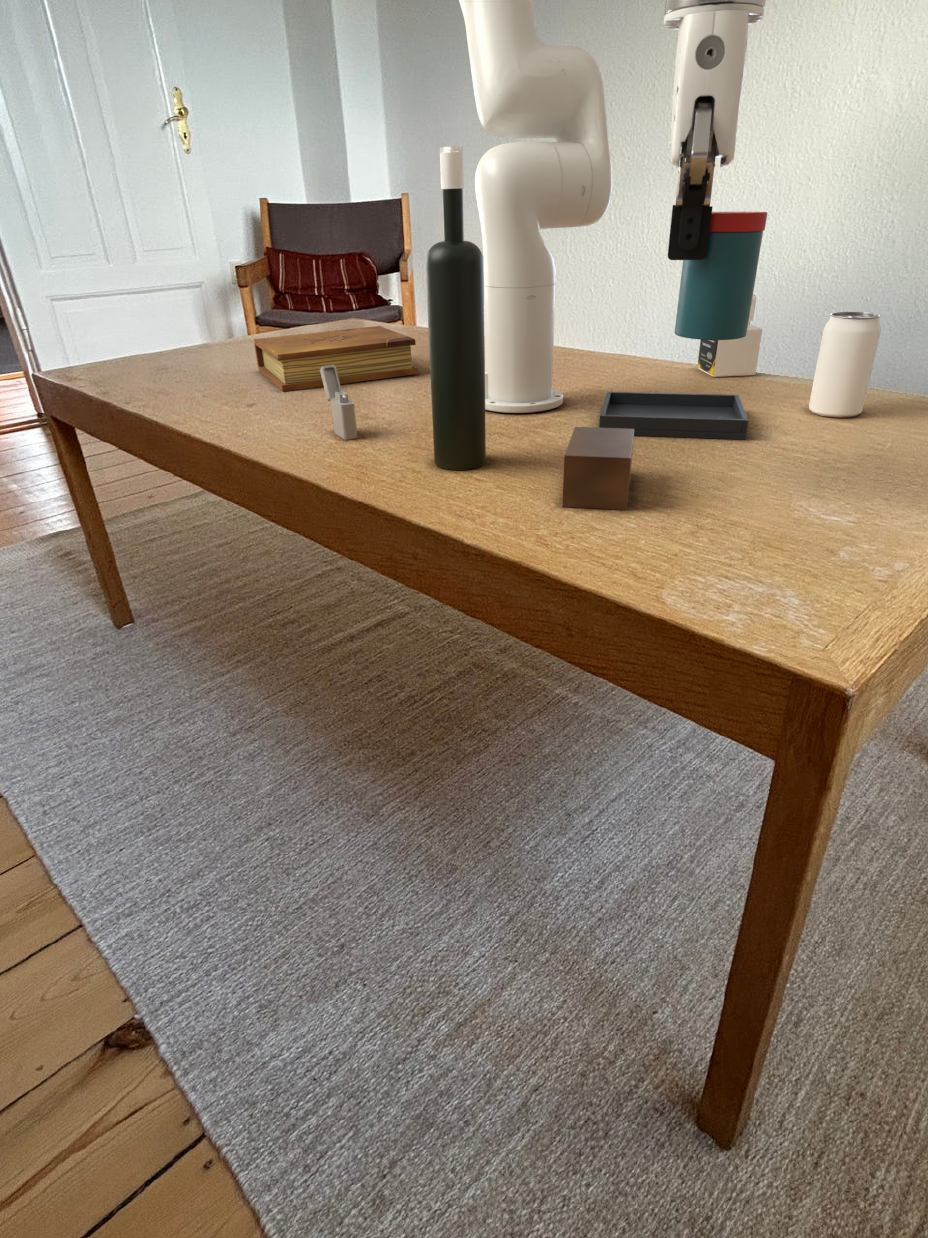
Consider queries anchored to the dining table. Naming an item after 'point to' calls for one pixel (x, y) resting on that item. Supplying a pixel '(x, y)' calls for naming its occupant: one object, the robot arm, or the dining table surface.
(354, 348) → the diary
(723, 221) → the container
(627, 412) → the tray
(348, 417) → the lighter
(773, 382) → the dining table surface
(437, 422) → the wine bottle
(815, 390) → the can
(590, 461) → the block
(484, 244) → the robot arm
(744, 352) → the medicine bottle
